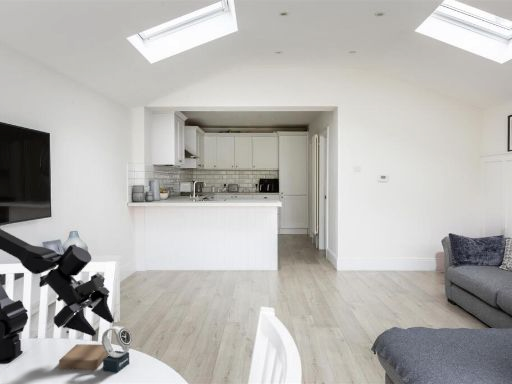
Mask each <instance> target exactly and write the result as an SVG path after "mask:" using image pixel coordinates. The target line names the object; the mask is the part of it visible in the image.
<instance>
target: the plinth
mask: <svg viewBox="0 0 512 384" xmlns="http://www.w3.org/2000/svg"><path fill="white" fill-rule="evenodd" d="M107 356H109V355H108V354H107V353H106V352H105V350H104V348H103V345H102V344H86V343H85V344H79V343H78V344H77V343H76V344H75V345H74V346H73V347H72V348H70V350H69V351H67V352H66V353H65V354H64V356H62V357H61V358H60V359H59V360H58V364H59V365H58V367H59V368H58V369H59V370H88V371H89V370H93V371H94V370H98V368H99V367H100V366H101V365H102V364H103V359H104V358H106V357H107Z"/></svg>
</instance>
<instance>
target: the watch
mask: <svg viewBox="0 0 512 384" xmlns="http://www.w3.org/2000/svg"><path fill="white" fill-rule="evenodd" d="M111 331H113V332H114V334H115V335H114V336H115V340H116V341H115V342H116V343H117V345H119V347H121V349H122V350H123V351H121V350H115V351H114V348H113V346H112V344H111V342H110V338H109V336H108V335H109V332H111ZM132 341H133V336H132V334H131V331H130V330H128V329H127V328H126V327H124V326H120V325H113V326H111V327H109V328H108V329H106V330H105V331H104V332H103V334H102V336H101V345H103V348H104V350H105V352H106V353H107V354H108V356H107V357H106V358H104V359H103V362H102V371H103V372H109V373H114V374H118V373H119V372H121V371H122V370H123V369H125V367H127V366H128V365H129V364H130V352H129V350H130V349H131V346H132Z"/></svg>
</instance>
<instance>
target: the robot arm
mask: <svg viewBox="0 0 512 384" xmlns="http://www.w3.org/2000/svg"><path fill="white" fill-rule="evenodd" d="M0 251H3V252H5V253H7V254H8V255H10V256H13V257H14V258H16V259H18V260H19V261H20V263H21V265H22V267H24V269H26V270H27V271H28V272H30V273H32V274H33V275H38V274H42V273H45V272H47V271H48V272H47V274H45V275H42V276H40V277H39V279H40V280H39V285H38V287H40V288H42V287H44V286H49V287H50V288H51V289H52V290H53V292H54V293H55V294H56V295H57V297H56V300H57V301H58V302H61V301H63V303H65V304H66V305H64V306H63V307H62V308H61V310H59V311H58V312H57V314H56V315H55V316H54V317H53V324H54V325H55V326H56V327H57V328H58V329H59V328H63V329H70V330H74V331H77V332H80V333H83V334H86V335H89V336H91V337H94V336H95V335H96V334H97V332H96V330H95V329H94V328H93V326H92V325H91V323H90V322H89V321H88V320H87V319H86V316H85V310H84V309H85V308H90V309H91V310H90V311H91V312H92V313H93V314H95V315H97V316H99V318H102V320H105V321H106V322H108V323H110V324H112V323H113V322H114V321H115V319H114V318H113V317H114V316H113V315H112V312H111V310H110V308H109V305H108V298H109V297H110V295H109V293H110V290H109V288H107V287H106V286H105V284H104V283H105V280H106V279H105V277H104V276H103V275H102V274H101V273H99V272H97V273H95V274H93V275H91V276H90V280H88V281H86V282H84V281H83V280H77V279H75V278H74V277H75V276H76V277H77V276H78V275H79V274H80V273H81V272H82V271H83V270H84V268H85V267H87V265H88V264H89V263H90V262H91V261H92V255H91V254H90V253H89V251H88V250H86V249H84V248H82V247H79V246H77V245H76V244H75V243H74V244H71V245H69V246H68V247H67V248H66V250H65V251H64V252H63V253H62V254H61V253H57V251H55V250H54V249H50V248H48V247H45V246H38V245H33V244H30V243H28V242H26V241H25V240H23V239H21V238H19V237H18V236H16V235H13V234H11V233H9V232H7V231H5V230H4V229H1V228H0ZM73 276H74V277H73ZM28 320H29V315H28V310H27V309H26V307H25V305H24V304H23V302H22V300H20V299H18V300H15V301H14V300H13V299H11V298H10V297H9V295H8V293H7V292H6V290H5V288H4V286H3V285H2V283H1V282H0V363H6V364H7V363H11V362H12V361H14V360H15V359H16V358H18V357H19V356H20V355H22V354H23V352H24V351H23V350H22V343H21V339H20V333H23V332H24V329H25V326H26V325H27V323H28Z"/></svg>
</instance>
